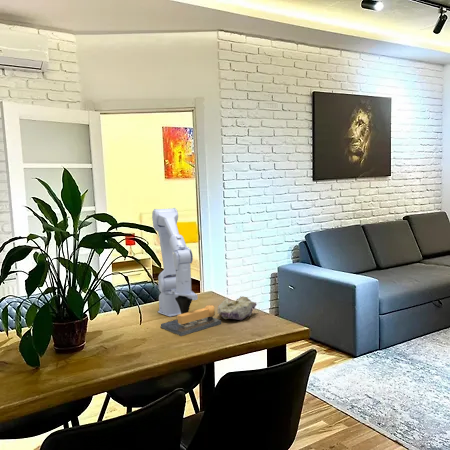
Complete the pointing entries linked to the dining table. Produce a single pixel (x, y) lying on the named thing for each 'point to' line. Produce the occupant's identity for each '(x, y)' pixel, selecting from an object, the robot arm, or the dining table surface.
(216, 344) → the dining table surface
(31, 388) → the dining table surface
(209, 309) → the orange rectangular block
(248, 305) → the geode
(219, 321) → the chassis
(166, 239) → the robot arm
